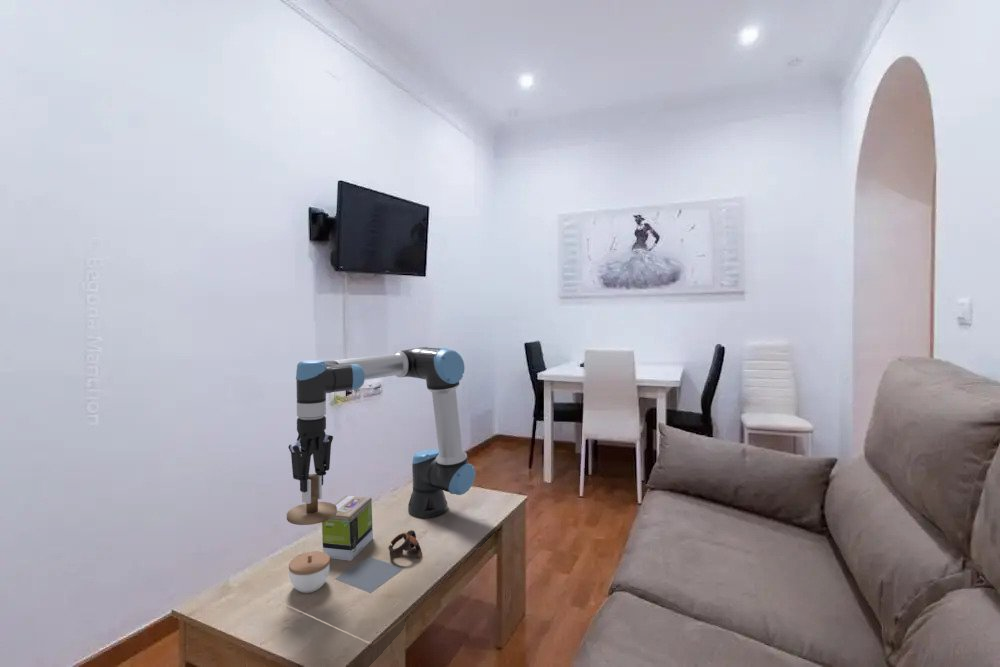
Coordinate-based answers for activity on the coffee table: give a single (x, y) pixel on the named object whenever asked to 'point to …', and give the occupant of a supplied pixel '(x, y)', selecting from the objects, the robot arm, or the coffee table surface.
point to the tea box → (348, 528)
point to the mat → (369, 574)
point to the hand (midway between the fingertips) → (312, 500)
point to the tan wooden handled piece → (312, 508)
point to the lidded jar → (309, 571)
